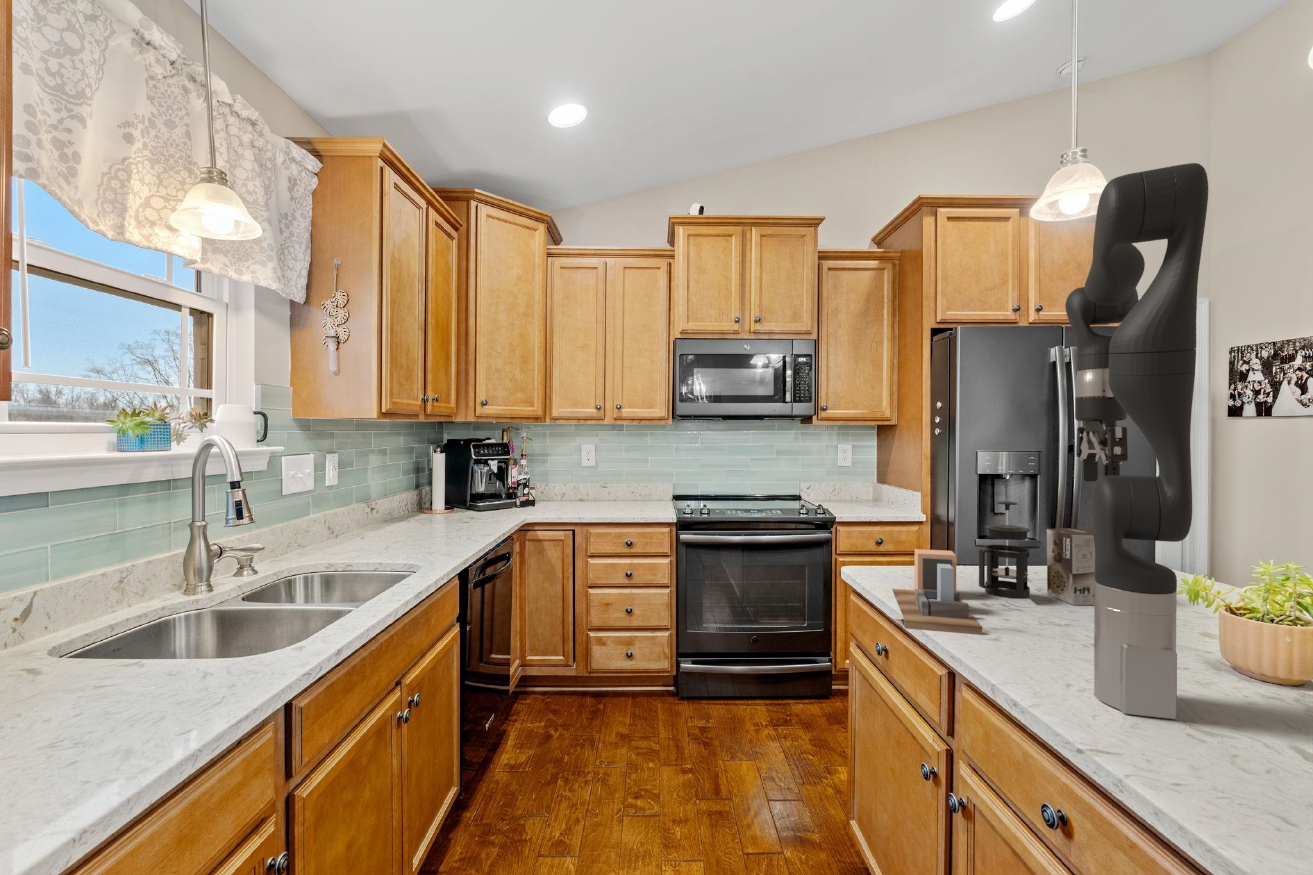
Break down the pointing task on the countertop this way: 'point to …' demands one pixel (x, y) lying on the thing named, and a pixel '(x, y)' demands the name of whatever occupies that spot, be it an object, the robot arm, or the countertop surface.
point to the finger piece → (944, 583)
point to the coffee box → (1071, 565)
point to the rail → (935, 612)
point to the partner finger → (931, 567)
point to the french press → (993, 554)
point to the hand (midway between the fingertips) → (1100, 483)
